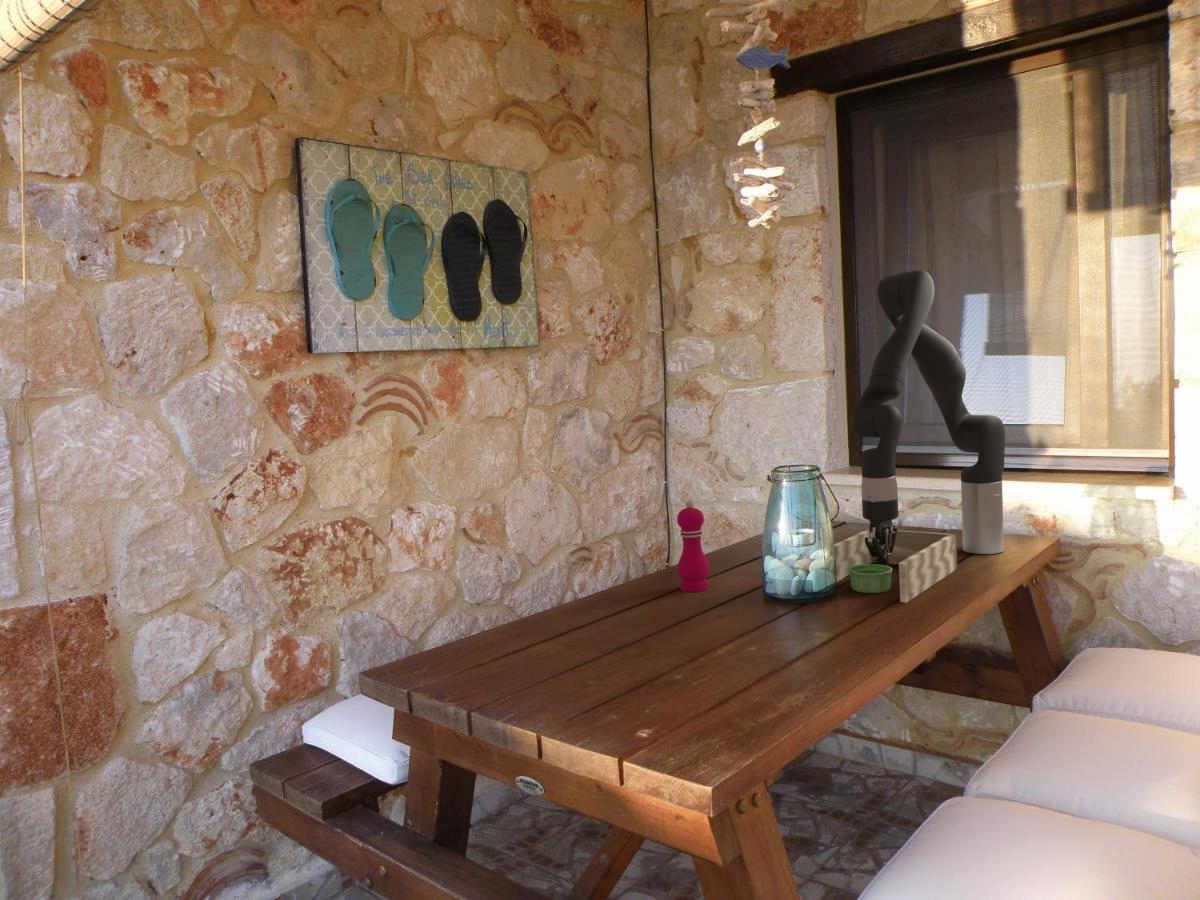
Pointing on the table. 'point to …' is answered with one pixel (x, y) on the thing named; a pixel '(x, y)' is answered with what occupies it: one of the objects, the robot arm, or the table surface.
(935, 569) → the wooden c-shaped frame
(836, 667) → the table surface
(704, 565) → the pepper mill
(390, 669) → the table surface
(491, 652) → the table surface
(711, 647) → the table surface
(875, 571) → the ramekin
